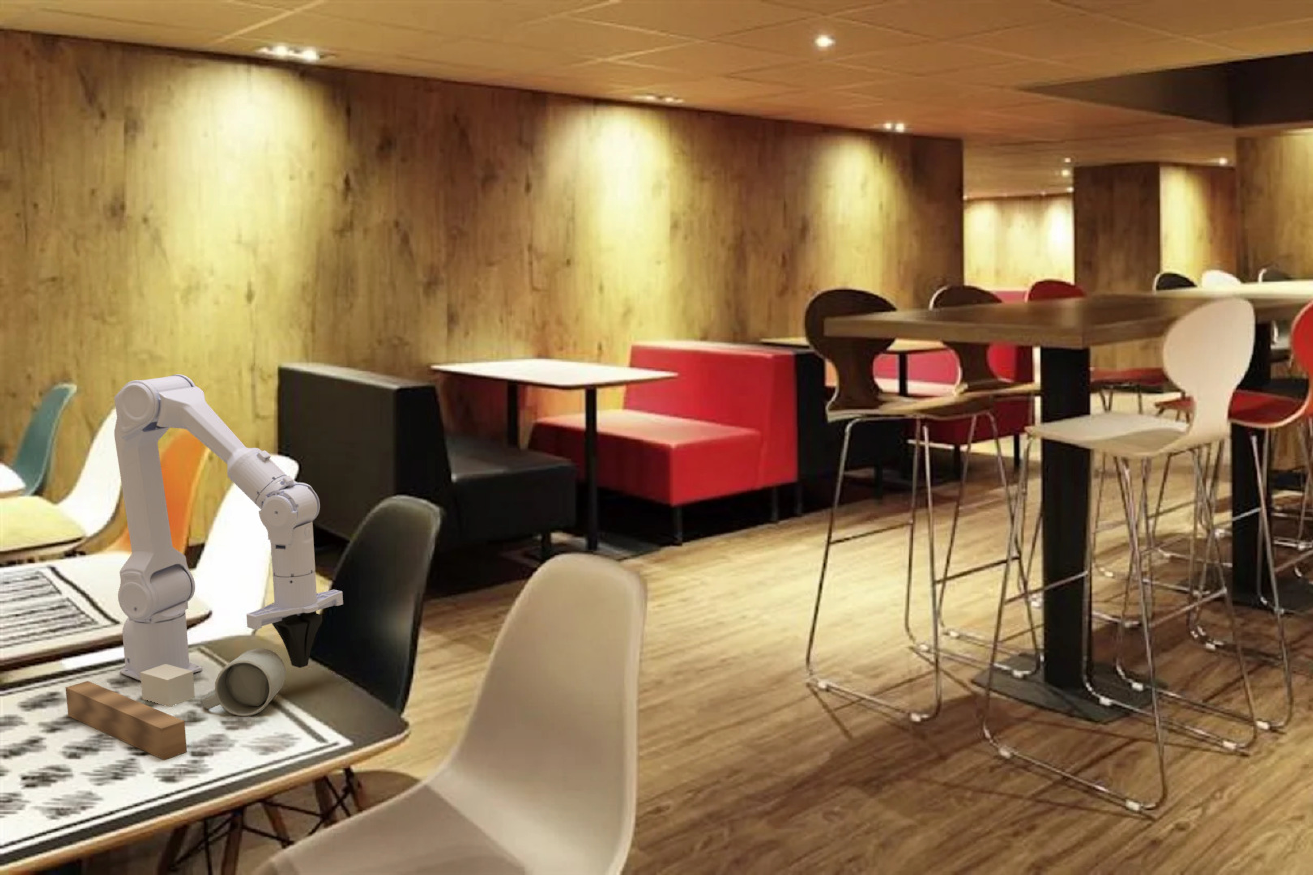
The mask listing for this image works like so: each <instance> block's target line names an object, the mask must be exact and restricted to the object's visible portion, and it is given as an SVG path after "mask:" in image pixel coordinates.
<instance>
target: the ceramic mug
mask: <svg viewBox="0 0 1313 875" xmlns="http://www.w3.org/2000/svg"><path fill="white" fill-rule="evenodd" d="M286 677H287V673H286V666H285V663H284V661H283V659H282V658H281V657H280V656H279V654H277V653H276V652H275V651H273V650H271V649H267V648H252V649H249V650H246V651H245V652H243V653H241V654H240V655H239V656H237V657H236V658H235V659H233V660H232V661H230V662H229V663H228V664H226V665H225V666H224V667H223V668H222V669H221V670H220V672H219V673H218V675H217V676H216V679H215V682H214V689H213V690H211V691H210V692H208V693H207V694H205V695H204V696H203V697H202V698H201V701H200V702H202V704H203V706H204V708H205V709H206V710H210V709H213V708H216V707H217V706H221V707H222V708H223V709H224V710H225V711H226V712H228V713H230V714H232V715H234V716H239V717H251V716H254V715H257V714H259V713H260V712H262V711H264V709H266V707H267V706H268V705H269V703H271V702H272V700H273V699H274V698H275V697H276V695H277V694H278V693H279V692H280V690H281V689H282V688H283V685H284V683H285V680H286Z"/></svg>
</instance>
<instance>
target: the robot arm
mask: <svg viewBox="0 0 1313 875" xmlns="http://www.w3.org/2000/svg"><path fill="white" fill-rule="evenodd" d="M113 399H114V405H115V412H116V420H115V421H116V422H115V425H114V430H113V431H114V432H113V433H114V434H113V435H114V441H115V442H114V444H115V449H116V457H117V461H118V462H117V463H118V469H119V470H118V471H119V476H120V483H121V487H122V488H121V489H122V494H123V495H122V496H123V502H124V508H125V509H124V510H125V515H126V521H127V522H126V523H127V530H128V535H129V541H130V550H131V554H130V556H129V557H128V558H127V560H126V561H125V563H124V564H123V566H122V567H121V568H120V569H119V576H120V577H119V579H120V583H119V588H118V592H117V599H118V600H117V601H118V605H119V607H120V609H121V611H122V612H123V613H124V614H125V616H127V618H126V619H125V621H124V624H123V627H122V631H121V632H122V642H123V655H124V666H125V667H123V668H121V669H119V674H123V675H125V676H128V677H130V678H132V679H135V680H137V681H140V682H141V676H140V672H143V671H146V670H149V669H152V668H155V667H158V666H161V665H164V664H168V665H172V666H175V667H179V668H183V669H187V670H190V671H193V674H195V673H198V672H200V671H202V670H203V666H200V665H198V664H195V663H192V662H190V653H189V642H188V631H187V630H188V629H187V628H188V626H187V617H186V616H187V615H186V610H188V609H189V601H191V599H193V597H194V594H195V592H196V583H195V578H194V575H193V574H192V572H191V571H190V569H189V566H188V563H187V557H186V555H185V554H183V553H182V552H181V551H179V550H178V549H176V548H175V547H174V546H173V541H172V540H173V539H172V533H171V526H170V521H169V514H168V506H167V499H166V493H165V486H164V479H163V478H164V477H163V472H162V466H161V459H160V451H159V445H158V444H159V443H158V442H159V441H160V440H161V438H162V437H164V435H165V434H166V433H167V432H168V430H169V429H171V428H172V429H182V430H183V429H184V430H186V431H188V432H189V433H190V434H192V436H194V437H195V438H196V439H197V440H198V441H200V443H201V444H203V445H204V446H205V447H206V448H207V449H209V450H210V451H211V452H212V454H215V455H216V457H218V458H219V459H220V460H221V461H223V462H224V463H225V464H226V465H227V469H226V470H227V471H226V474H227V477H228V478H229V480H230V481H231V482H233V484H234V485H235V486H236V487H237V488H239V490H241V491H242V492H243V493H244V494H245V495H246V496H247V497H248V498H249V499H250V500H251V501H252V502H253V503H254V505H256V506H257V507H258V508H259V509H260V510H258V515H259V519H260V521H261V523H262V525H263V526H264V527H265V529H266V531H267V538H268V539H267V540H269V542H270V554H271V555H270V556H271V568H272V586H273V600H274V601H273V602H272V603H270V604H268V605H266V606H264V607H261V608H258V609H257V610H255V611H252V612H248V613H246V625H247V628H249V629H251V630H261V629H262V628H263V627H265V626H267V625H272V627H273V628H274V629H275V630H276V632H277V633H278V635H279V637H280V639H281V640H282V642H283V645H284V647H285V649H286V652H287V655H288V657H289V661H290V664H291V666H292V667H296V668H300V669H301V668H304V667H307V666H308V665H309V661H310V656H311V649H312V647H313V643H314V640H315V637H316V635H317V632H318V630H319V628H320V626H321V625H322V623H323V615H322V614H320V613H317V611H319V610H323V609H326V608H329V607H333V606H337V607H338V606H341V605H344V600H343V599H344V598H343V594H344V593H343V591H342V590H337V589H331V590H327V591H321V592H317V579H316V562H315V546H314V544H315V542H314V541H315V540H314V526H313V521H314V520H315V519H317V517H318V515H319V514H320V510H321V509H320V508H321V504H320V498H319V496H318V493H316V492H315V490H314V489H313V487H312V486H311V485H310V484H308V483H306V482H298V481H296V480H295V479H293V478H292V477H291V476H290V475H287V474H286V473H285V471H283V470H282V469H281V468H280V467H279V466H278V465H277V464H276V463H275V462H274V461H273V460H271V457H272V455H271V454H270V453H269V452H268V451H266V450H261V449H260V448H259V447H247V446H246V445H244V443H243V442H242V441H241V440H240V439H239V437H237V435H236V434H235V433H234V432H233V431H232V429H230V427H228V425H227V424H226V423H225V422H224V421H223V419H222V418H221V417H220V416H219V415H218V414H217V413H216V412H215V410H213V409H212V407H211V406H210V405H209V403H207V401H206V396H205V392H204V391H203V390H202V389H201V388H200V387H199V386H196V385H195V383H194V381H193V380H192V379H191V378H190V377H189V376H187V375H184V374H180V373H179V374H177V373H176V374H173V375H169V376H164V377H155V378H148V379H141V380H140V379H136V380H135V379H134V380H130V381H129V382H127V383H126V384H124V385H123V387H122V388H121V389H120V390H119V391H118V392H117V394H116V395H114V397H113Z"/></svg>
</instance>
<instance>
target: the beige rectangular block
mask: <svg viewBox="0 0 1313 875" xmlns="http://www.w3.org/2000/svg"><path fill="white" fill-rule="evenodd" d="M140 676H141V681H140V685H141V696H142V698H141V700H144V701H147V700H148V702H150V701H152V702H151V703H154V702H155V704H157V703H158V705H161V704H163V705H162V706H164V705H166V706H165V707H169V708H171V707H173V705H174V706H176V705H175V704H177V705H179V704H182V703H184V701H185V702H187V701H189V700H193V699H195V698H196V696H195V683H194V682H195V681H194V673H193V671H190V670H187V669H183V668H179V667H175V666H172V665H168V664H164V665H161V666H158V667H155V668H152V669H149V670H146V671H143V672H140Z"/></svg>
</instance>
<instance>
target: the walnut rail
mask: <svg viewBox="0 0 1313 875" xmlns="http://www.w3.org/2000/svg"><path fill="white" fill-rule="evenodd" d="M65 696H66V706H67V716H68V717H70V718H72V719H74V720H76V721H79V722H80V723H83V724H85V725H87V726H90V727H92V728H94V729H95V730H97V731H100V732H102V733H103V734H107V735H109V736H111V737H113V738H116V739H118V740H120V741H122V742H124V743H126V744H128V745H131V746H132V747H135V748H137V749H139V750H142V751H144V752H146V753H148V754H150V755H153V756H155V757H156V758H159V759H161V760H163V761H165V760H169V759H172V758H174V757H176V756H180V755H182V754H185V753H187V752H188V748H187V737H186V736H187V734H186V724H185V720H183V719H181V718H179V717H176V716H174V715H171V714H168V713H166V712H164V711H162V710H159V709H157V708H154V707H152V706H149V705H148V704H147V705H146V704H145V703H142V702H140V701H137V700H135V699H133V698H131V697H128V696H125V695H123V694H121V693H118V692H115V691H113V690H110V689H108V688H106V687H104V686H101V685H98V684H96V683H94V682H92V681H89V680H85V681H83V682H80V683H75V684H72V685H69V686H66V687H65Z"/></svg>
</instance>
